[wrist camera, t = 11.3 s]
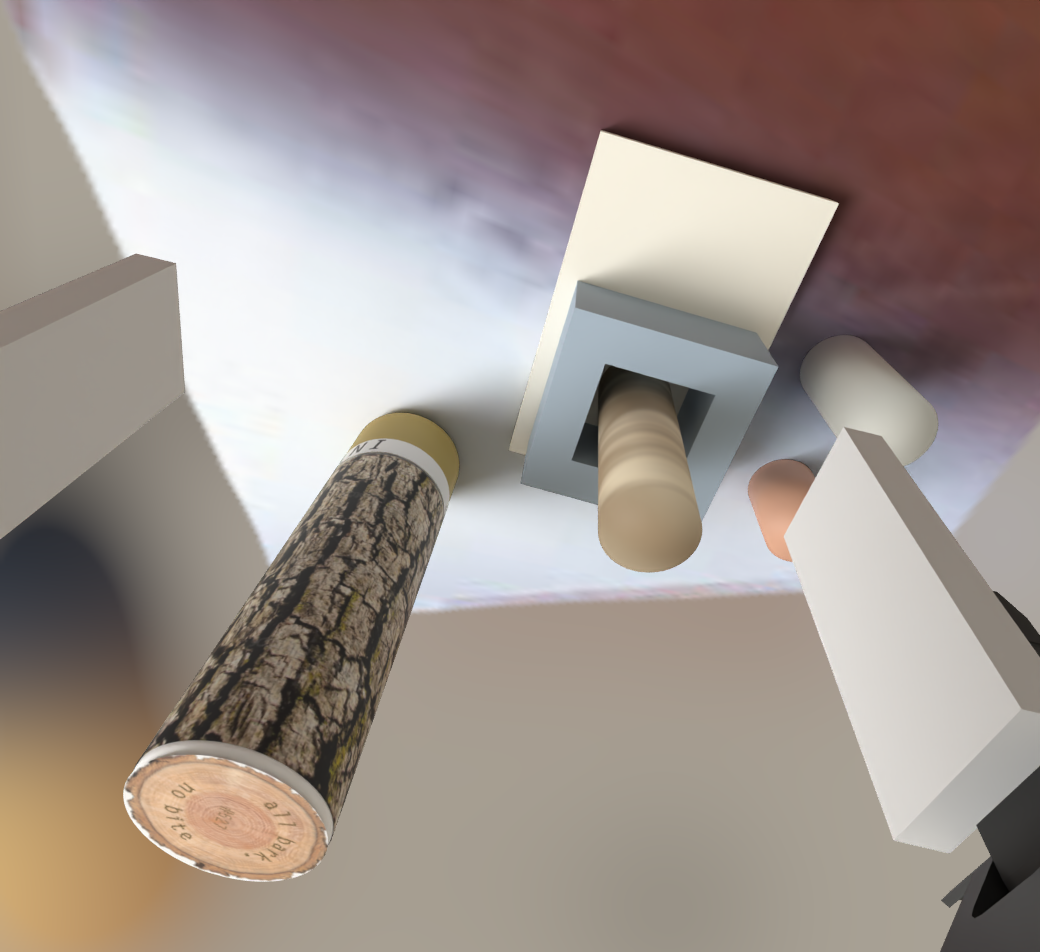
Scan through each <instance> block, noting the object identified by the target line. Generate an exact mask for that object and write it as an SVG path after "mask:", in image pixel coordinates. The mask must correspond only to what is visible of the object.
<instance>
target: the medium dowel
mask: <svg viewBox="0 0 1040 952" xmlns="http://www.w3.org/2000/svg"><path fill="white" fill-rule="evenodd" d="M800 382H801V385H802V387H803V389H804V390H805V392H806V393H807V395H808V396H809V398H810V399H811V401H812V402H813V404H814V405H815V406H816V408H817V409H818V411H819V412H820V414H821V415H822V417H823V418H824V420H825V421H826V423H827V424H828V426H829V427H830V429H831V430H832V432H833V433H834V435H835V436H836V437H837V438H838V436H839V434H840V432H841V430H842V428H843V427H847V428H851V429H855V430H859V431H863V432H867V433H871V434H875V435H880V436H882V437H883V439H884V440H885V441H886V443H887V444H888V446H889V447H890V448H891V450H892V451H893V453H894V454H895V455H896V457H897V458H898V460H899V461H900V462H901V464H902V465H903V467H904V466H906V465H908V464H910V463H912V462H914V461H915V460H917V459H918V458H919V457H921V456H922V455H923V454H924V453H925V452H926V451H927V450H928V449H929V447H930V446H931V445H932V443H933V441H934V439H935V437H936V434H937V430H938V418H937V414H936V412H935V410H934V408H933V407H932V405H931V404H930V403H929V402H928V401H927V400H926V399H925V398H924V397H923V396H922V395H921V394H919V393H918V392H917V391H916V390H915V389H914V388H913V387H912V386H911V385H910V384H909V383H908V382H907V381H906V380H905V379H904V378H903V377H902V376H901V375H900V374H899V373H898V372H897V371H896V370H894V369H893V368H892V367H891V366H890V365H889V364H888V363H887V362H886V361H885V360H884V359H883V358H882V357H881V356H880V355H879V354H878V353H877V352H876V351H875V350H874V349H873V348H872V347H871V346H870V345H868V344H867V343H866V342H865V341H864V340H862V339H860V338H858V337H855V336H851V335H838V336H833V337H830V338H827V339H825V340H823V341H821V342H820V343H818V344H817V345H815V346H814V347H813V348H812V349H811V350H810V351H809V352H808V354H807V355H806V356H805V358H804V360H803V362H802V364H801V368H800Z"/></svg>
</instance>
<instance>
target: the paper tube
mask: <svg viewBox="0 0 1040 952" xmlns="http://www.w3.org/2000/svg"><path fill="white" fill-rule="evenodd" d="M458 474H459V457H458V453H457V450H456V447H455V445H454V443H453V442H452V440H451V439H450V437H449V436H448V435H447V433H446V432H445V431H444V430H443V429H442V428H440V427H439V426H438V425H437V424H435V423H434V422H432V421H430V420H428V419H426V418H424V417H421V416H419V415H415V414H410V413H391V414H386V415H383V416H381V417H378V418H376V419H375V420H373V421H372V422H370V423H369V424H368V425H367V426H366V427H365V428H364V429H363V430H362V432H361V433H360V434H359V436H358V437H357V439H356V440H355V442H354V443H353V445H352V446H351V448H350V449H349V451H348V452H347V454H346V455H345V456H344V457H343V459H342V460H341V462H340V463H339V465H338V466H337V468H336V469H335V471H334V472H333V474H332V475H331V477H330V478H329V480H328V481H327V483H326V484H325V485H324V487H323V488H322V490H321V491H320V493H319V494H318V496H317V497H316V499H315V500H314V502H313V503H312V505H311V506H310V508H309V509H308V511H307V512H306V514H305V515H304V517H303V518H302V520H301V521H300V522H299V524H298V525H297V527H296V528H295V530H294V531H293V533H292V534H291V536H290V537H289V539H288V540H287V542H286V543H285V545H284V546H283V548H282V549H281V551H280V552H279V554H278V555H277V557H276V558H275V560H274V561H273V562H272V564H271V565H270V567H269V568H268V570H267V571H266V573H265V574H264V576H263V577H262V579H261V580H260V582H259V583H258V585H257V586H256V588H255V589H254V591H253V592H252V594H251V595H250V597H249V598H248V600H247V601H246V602H245V604H244V605H243V607H242V608H241V610H240V611H239V613H238V614H237V616H236V617H235V619H234V620H233V622H232V623H231V625H230V626H229V628H228V629H227V631H226V632H225V634H224V635H223V637H222V638H221V640H220V641H219V642H218V644H217V645H216V647H215V648H214V650H213V652H212V653H211V654H210V656H209V657H208V659H207V660H206V662H205V663H204V665H203V666H202V668H201V669H200V671H199V672H198V673H197V675H196V677H195V678H194V679H193V681H192V682H191V684H190V685H189V687H188V688H187V690H186V691H185V693H184V694H183V696H182V697H181V699H180V700H179V702H178V704H177V705H176V706H175V708H174V709H173V710H172V712H171V713H170V715H169V716H168V718H167V719H166V721H165V722H164V724H163V725H162V727H161V728H160V730H159V731H158V733H157V734H156V736H155V737H154V739H153V740H152V742H151V743H150V745H149V746H148V748H147V749H146V751H145V752H144V753H143V755H142V757H141V758H140V759H139V761H138V762H137V764H136V766H135V768H134V770H133V772H132V773H131V775H130V776H129V777H128V779H127V781H126V783H125V787H124V794H123V795H124V796H123V797H124V803H125V807H126V809H127V812H128V814H129V816H130V818H131V819H132V821H133V822H134V823H135V825H136V826H137V828H138V829H139V830H140V831H141V832H142V833H143V834H144V835H145V836H146V837H147V838H148V839H149V840H150V841H151V842H153V843H154V844H155V845H156V846H158V847H159V848H161V849H162V850H163V851H165V852H166V853H168V854H170V855H172V856H173V857H175V858H177V859H179V860H180V861H182V862H184V863H187V864H189V865H191V866H193V867H196V868H198V869H201V870H204V871H206V872H209V873H213V874H216V875H220V876H224V877H228V878H233V879H239V880H246V881H280V880H286V879H290V878H294V877H297V876H300V875H303V874H305V873H307V872H309V871H310V870H312V869H313V868H315V867H316V866H317V865H318V864H319V863H320V862H321V861H322V859H323V857H324V856H325V853H326V851H327V846H328V845H329V843H330V841H331V839H332V836H333V833H334V831H335V828H336V825H337V822H338V819H339V816H340V813H341V811H342V808H343V805H344V802H345V799H346V796H347V793H348V790H349V788H350V785H351V782H352V779H353V776H354V773H355V771H356V768H357V765H358V762H359V759H360V756H361V753H362V751H363V748H364V745H365V742H366V739H367V736H368V733H369V730H370V728H371V725H372V722H373V719H374V716H375V713H376V711H377V708H378V705H379V702H380V699H381V696H382V693H383V690H384V688H385V685H386V682H387V679H388V676H389V673H390V671H391V668H392V665H393V662H394V659H395V656H396V653H397V650H398V648H399V645H400V642H401V639H402V636H403V633H404V631H405V628H406V625H407V622H408V619H409V616H410V614H411V611H412V608H413V605H414V602H415V599H416V596H417V594H418V591H419V588H420V585H421V582H422V579H423V576H424V574H425V571H426V568H427V565H428V562H429V559H430V556H431V554H432V551H433V548H434V545H435V542H436V539H437V536H438V534H439V531H440V528H441V525H442V522H443V519H444V516H445V514H446V511H447V508H448V504H449V501H450V498H451V495H452V492H453V489H454V487H455V484H456V481H457V478H458Z"/></svg>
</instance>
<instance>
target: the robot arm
mask: <svg viewBox="0 0 1040 952" xmlns="http://www.w3.org/2000/svg"><path fill="white" fill-rule="evenodd" d="M184 392H185V383H184V369H183V355H182V341H181V327H180V313H179V298H178V284H177V270H176V263H173V262H168V261H164V260H160V259H156V258H152V257H148V256H144V255H140V254H134V255H132V256H129V257H127V258H125V259H122V260H120V261H118V262H115V263H113V264H110V265H108V266H106V267H103V268H101V269H99V270H96V271H94V272H91V273H89V274H87V275H85V276H82V277H80V278H77V279H75V280H72V281H70V282H68V283H65V284H63V285H61V286H58V287H56V288H54V289H51V290H49V291H47V292H44V293H42V294H39V295H37V296H34V297H32V298H30V299H27V300H25V301H23V302H21V303H18V304H16V305H13V306H11V307H8V308H6V309H4V310H1V311H0V539H1V538H2V537H4V536H5V535H6V534H7V533H9V532H10V531H11V530H12V529H14V528H15V527H16V526H17V525H19V524H20V523H21V522H22V521H24V520H25V519H26V518H27V517H29V516H30V515H31V514H32V513H34V512H35V511H36V510H37V509H39V508H40V507H41V506H42V505H44V504H45V503H46V502H48V501H49V500H50V499H51V498H52V497H54V496H55V495H56V494H58V493H59V492H60V491H61V490H63V489H64V488H65V487H66V486H68V485H69V484H70V483H71V482H73V481H74V480H75V479H76V478H78V477H79V476H80V475H82V474H83V473H84V472H85V471H87V470H88V469H89V468H90V467H92V466H93V465H94V464H95V463H97V462H98V461H99V460H100V459H102V458H103V457H104V456H105V455H107V454H108V453H109V452H110V451H112V450H113V449H114V448H115V447H117V446H118V445H119V444H120V443H121V442H123V441H124V440H125V439H127V438H128V437H129V436H130V435H132V434H133V433H134V432H136V431H137V430H138V429H139V428H140V427H141V426H143V425H144V424H146V423H147V422H148V421H149V420H151V419H152V418H153V417H154V416H156V415H157V414H158V413H159V412H161V411H162V410H163V409H164V408H166V407H167V406H168V405H169V404H171V403H172V402H173V401H174V400H176V399H177V398H178V397H179V396H181V395H182V394H183V393H184ZM784 539H785V542H786V544H787V547H788V550H789V553H790V555H791V558H792V561H793V564H794V566H795V569H796V572H797V575H798V577H799V580H800V583H801V586H802V588H803V591H804V594H805V597H806V599H807V602H808V605H809V607H810V611H811V613H812V616H813V618H814V621H815V624H816V627H817V630H818V632H819V635H820V638H821V641H822V644H823V646H824V649H825V652H826V655H827V657H828V660H829V663H830V666H831V668H832V671H833V674H834V677H835V679H836V682H837V685H838V688H839V690H840V693H841V696H842V698H843V702H844V704H845V707H846V710H847V712H848V715H849V718H850V721H851V724H852V726H853V729H854V732H855V734H856V737H857V740H858V743H859V746H860V748H861V751H862V754H863V757H864V759H865V762H866V765H867V768H868V770H869V773H870V776H871V779H872V782H873V784H874V787H875V790H876V793H877V795H878V798H879V801H880V804H881V806H882V809H883V811H884V814H885V817H886V820H887V823H888V826H889V828H890V831H891V834H892V837H893V839H894V841H898V842H903V843H907V844H911V845H916V846H920V847H924V848H928V849H933V850H937V851H941V852H946V853H950V852H952V851H953V850H954V849H955V848H956V847H957V846H958V845H959V844H960V843H961V842H962V841H964V840H965V839H966V838H967V837H968V836H969V835H970V834H971V833H972V832H973V831H974V830H976V829H977V828H978V830H979V832H980V834H981V836H982V838H983V840H984V842H985V845H986V847H987V849H988V851H989V853H990V855H991V856H990V857H989V858H988V859H987V860H986V861H985V862H984V863H982V864H981V865H980V866H979V867H978V868H977V869H975V870H974V871H973V872H972V873H971V874H970V875H969V876H967V877H966V878H965V879H964V880H963V881H962V882H961V883H959V884H958V885H957V886H956V887H955V888H954V889H953V890H951V891H950V892H949V893H948V894H947V895H946V896H945V897H944V898H943V899H942V900H941V901H942V902H944V903H945V904H946V905H947V906H948V907H949V908H950V907H951V906H952V905H953V904H954V903H956V902H957V901H958V900H962V902H961V904H960V906H959V909H958V911H957V913H956V915H955V918H954V920H953V923H952V925H951V927H950V930H949V932H948V934H947V937H946V939H945V942H944V944H943V946H942V948H941V951H940V952H1040V635H1039V634H1038V632H1037V631H1036V629H1035V628H1034V627H1033V626H1032V624H1031V623H1030V621H1029V620H1028V619H1027V618H1026V617H1025V616H1024V615H1023V614H1022V613H1021V612H1019V611H1018V610H1017V609H1016V608H1015V607H1014V606H1013V605H1012V604H1010V603H1009V602H1008V601H1007V600H1006V599H1005V598H1004V597H1002V596H1001V595H1000V594H999V593H998V592H995V591H992V590H991V588H990V587H989V585H988V584H987V583H986V581H985V580H984V579H983V577H982V576H981V574H980V573H979V572H978V570H977V569H976V567H975V566H974V565H973V563H972V562H971V560H970V559H969V557H968V556H967V555H966V553H965V552H964V550H963V549H962V548H961V546H960V545H959V544H958V542H957V541H956V539H955V538H954V537H953V535H952V534H951V532H950V531H949V530H948V528H947V527H946V525H945V524H944V523H943V521H942V520H941V518H940V517H939V516H938V514H937V513H936V511H935V510H934V509H933V507H932V506H931V504H930V503H929V502H928V500H927V499H926V497H925V496H924V495H923V493H922V492H921V490H920V489H919V488H918V486H917V485H916V483H915V482H914V481H913V479H912V478H911V476H910V475H909V474H908V472H907V471H906V469H905V468H904V467H903V465H902V464H901V462H900V461H899V460H898V458H897V457H896V455H895V454H894V453H893V451H892V450H891V448H890V447H889V446H888V444H887V443H886V441H885V440H884V439H883V437H882V436H880V435H875V434H871V433H867V432H863V431H859V430H855V429H851V428H847V427H843V428H842V430H841V432H840V434H839V436H838V438H837V439H836V441H835V443H834V445H833V447H832V449H831V450H830V452H829V454H828V456H827V458H826V460H825V461H824V463H823V465H822V467H821V469H820V471H819V472H818V474H817V476H816V478H815V480H814V482H813V483H812V485H811V487H810V489H809V491H808V493H807V494H806V496H805V498H804V500H803V502H802V503H801V505H800V507H799V509H798V511H797V513H796V514H795V516H794V518H793V520H792V522H791V524H790V525H789V527H788V529H787V531H786V533H785V535H784Z"/></svg>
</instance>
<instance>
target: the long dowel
mask: <svg viewBox="0 0 1040 952" xmlns="http://www.w3.org/2000/svg"><path fill="white" fill-rule="evenodd" d="M598 536H599V541H600V544H601V546H602V548H603V550H604V551H605V553H606V554H607V555H608V556H609V557H610V558H611V559H612V560H613V561H614V562H616V563H617V564H619V565H621V566H623V567H625V568H627V569H630V570H634V571H638V572H659V571H664V570H668V569H671V568H673V567H675V566H677V565H679V564H681V563H683V562H684V561H685V560H687V559H688V558H689V557H690V556H691V555H692V554H693V553H694V551H695V550H696V548H697V547H698V545H699V542H700V540H701V536H702V523H701V518H700V514H699V510H698V505H697V501H696V497H695V492H694V488H693V484H692V480H691V475H690V471H689V467H688V462H687V458H686V454H685V449H684V445H683V441H682V437H681V432H680V428H679V424H678V419H677V415H676V411H675V406H674V402H673V398H672V394H671V389H670V385H669V382H667V381H664V380H661V379H657V378H654V377H650V376H647V375H643V374H640V373H636V372H633V371H629V370H626V369H622V368H619V367H615V366H612V365H611V366H610V367H609V368H608V369H607V370H606V371H605V372H604V374H603V376H602V377H601V380H600V383H599V388H598Z"/></svg>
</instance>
